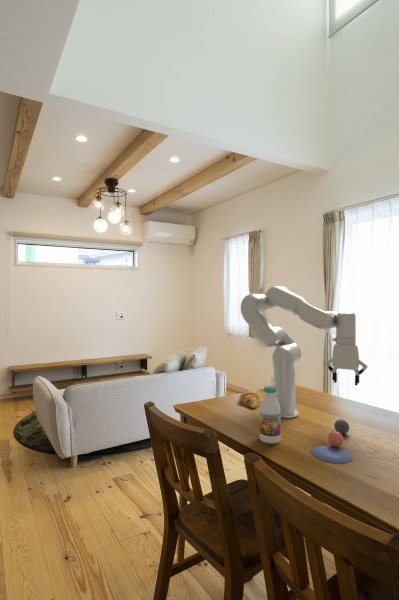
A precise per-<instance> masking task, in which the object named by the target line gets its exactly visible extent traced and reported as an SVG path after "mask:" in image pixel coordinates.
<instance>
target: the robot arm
mask: <svg viewBox="0 0 399 600" xmlns="http://www.w3.org/2000/svg"><path fill="white" fill-rule="evenodd" d="M276 307H278V308H280V309H283V310H284V311H287V312H289V314H290V313H291V314H292V315H294V316H295V317H296V318H298V319H299V320H300V321H303V322H304V323H306V324H309V326H310V325H311V326H312V327H314V328H317V329H320V330H327V329H333V328H334V329H335V328H336V330H335V337H333V338H332V342H334V344H333V349H332V358H330V359H328V360H326V361H325V362H324V364H325V365H326V366H325V367H327V369H328V370H329V371H330V372H331V373H332V377H331V378H332V381H333V384H336V383H337V382H338V372H337V370H349V371H353V372H354V373H355V375H354V385H355V386H358V384H360V376H361V375H362V374H363V373H364V372H365V371H366V370H367V369H368V367H369V366H368V365H367V364H366V363H364V362H363V361H362V360H360V356H359V355H360V354H359V353H360V352H359V348H358V345H357V344H356V342H357V340H356V336H357V335H356V332H357V331H356V330H357V329H356V326H357V323H356V319H357V317H356V313H355V312H352V311H339V312H338V311H332V310H326V311H324V310H322V309H319V308H317V307H314V306H313V305H311V304H310V303H308V302H307V301H306V300H305V298H304V297H303V296H300V295H298V294H296V293H294V292H291V291H290V290H289V289H288V288H287V287H285V286H279V285H274V286H271V287H269V288H268V289H267V291H266V292H263V293H250V294H247V295H245V296H244V297H243V299H242V300H241V304H240V313H241V315H242V318H243V319H244V321H245V322H246V324H247V325H248V327H250V328H251V330H252V331H253V332H254V334H255V335H256V336H257V338H258V339H259V340H260V342H261V343H262V345H264V346H265V347H267V348H274V347H275V349H274V350H273V353H272V365H273V386H274V387H276V398H277V401H278V403H279V406H280V413H281V418H283V419H292V418H296V417H298V416H299V414H300V413H299V411H298V410H297V409H296V371H295V366H294V364H296V363H297V362H299V361H300V360H301V358H302V351H301V348H300V347H299V345H298V344H297V342H295V340H294V339H293V338H292V337H291V336H290V334H289V333H288V332H287V331H286V329H284V328H282V327H281V326H274V325H272V324H271V323H270V322H269V321H268V319H267V318H266V317H265V316H264V315H263V314H262V313H261V312H262V311H267V310H269V309H273V308H276ZM331 365H332V366H331ZM360 366H361V367H362V368H361V369H359V367H360Z"/></svg>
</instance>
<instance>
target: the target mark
mask: <svg viewBox="0 0 399 600" xmlns="http://www.w3.org/2000/svg"><path fill="white" fill-rule="evenodd" d="M311 454H312V456H313V457H315V458H316V459H317V460H320V461H322V462H325V463H329V464H334V465H335V464H337V465H339V464H341V465H342V464H343V465H344V464H347V463H350V462H352V460H353V455H352V453H350V452H349V451H347V450H346V449H343V448H340V447H333V446H331V445H320V446H315V447H313V448H312V449H311Z"/></svg>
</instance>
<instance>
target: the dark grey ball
mask: <svg viewBox="0 0 399 600" xmlns="http://www.w3.org/2000/svg"><path fill="white" fill-rule="evenodd" d="M333 427H334V431H337V432H339V433H341V434H342V435H346V434H348V432H350V425H349V423H348V422H347V421H346V420H345V419H341V418H340V419H337V420H336V421H335V422H334V425H333Z"/></svg>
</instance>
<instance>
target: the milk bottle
mask: <svg viewBox="0 0 399 600" xmlns="http://www.w3.org/2000/svg"><path fill="white" fill-rule="evenodd" d="M263 393H264V397H263V399H262V402H260V403H261V404H260V409H259V440H260V441H261V442H262V443H265V444H270V445H271V444H272V445H273V444H278V443H280V442H281V429H282V428H281V426H282V425H281V423H282V421H281V418H282V417H281V413H280V406H279V403H278V401H277V398H276V387H274V385H273V386H272V385H266V386H264V388H263Z"/></svg>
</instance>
